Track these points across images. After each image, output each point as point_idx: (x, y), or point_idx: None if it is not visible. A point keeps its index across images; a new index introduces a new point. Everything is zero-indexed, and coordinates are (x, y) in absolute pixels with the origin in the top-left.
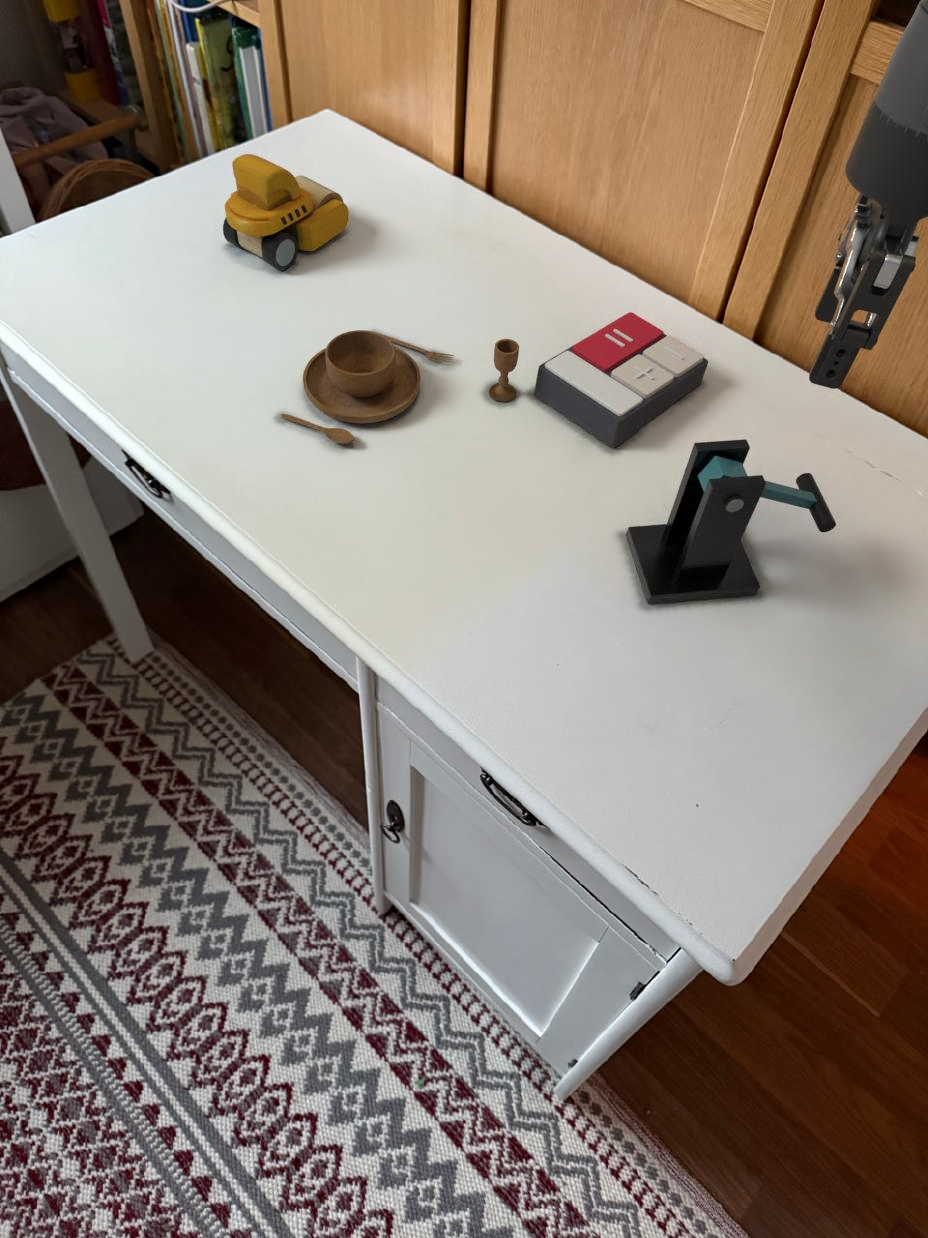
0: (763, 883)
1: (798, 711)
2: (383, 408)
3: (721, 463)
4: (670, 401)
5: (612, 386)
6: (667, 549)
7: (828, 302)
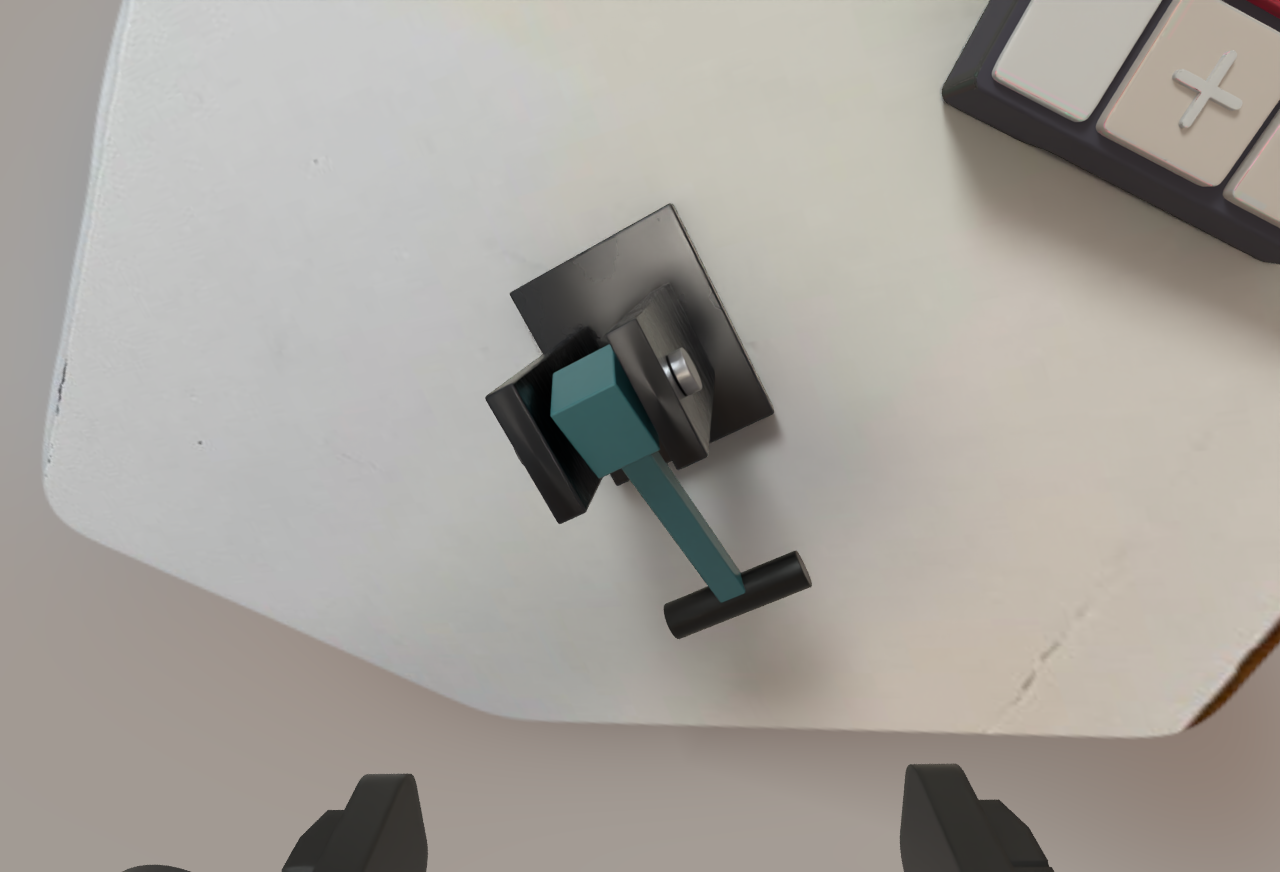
0: (146, 540)
1: (419, 563)
2: None
3: (595, 404)
4: (1151, 199)
5: (1117, 12)
6: (638, 300)
7: (939, 860)
